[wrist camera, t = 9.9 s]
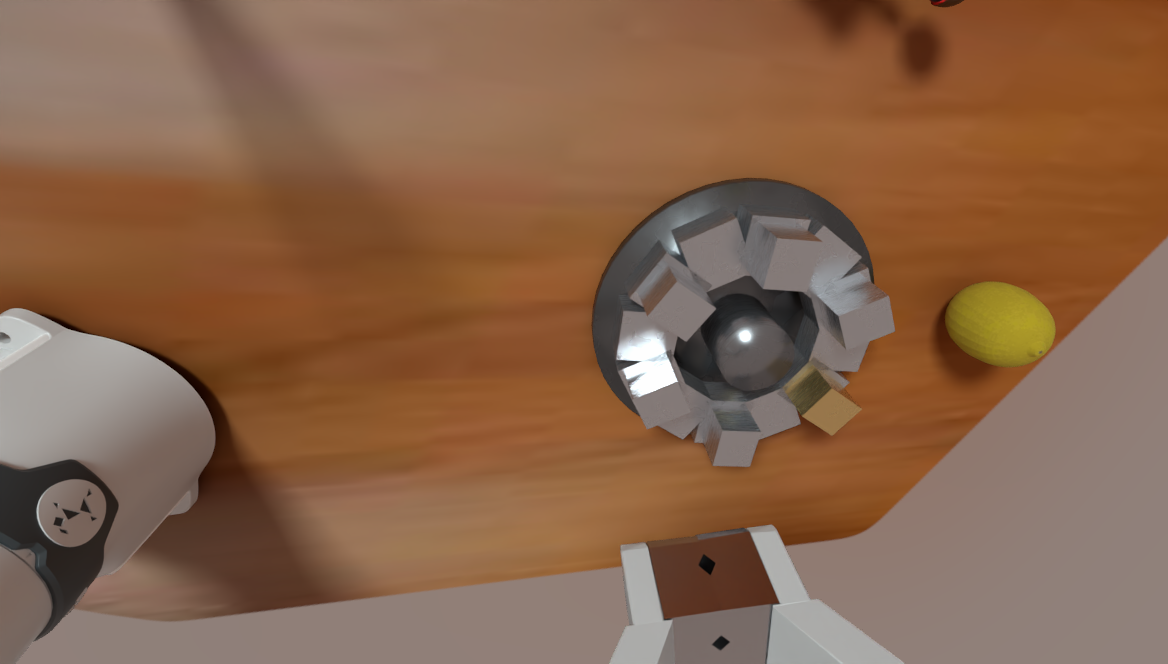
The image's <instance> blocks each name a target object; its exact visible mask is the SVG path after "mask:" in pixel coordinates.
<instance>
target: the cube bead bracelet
mask: <svg viewBox="0 0 1168 664" xmlns="http://www.w3.org/2000/svg"><path fill="white" fill-rule="evenodd" d="M671 232H672V235H673V237H674V240H675V243H676V245H677V248H678V251H679V253H680V254H678V253H677V252H676V251H674V250H673V249H671V248H670V247H669V246H667V245H666V244H664V243H663V242H662V241H660V240H658V241H657V242H656V244H655V245H654V246H653V247H652V249H651V250H650V251H649V252H648V254H647V255H646V256H645V257H644V259H643V260H642V261H641V262H640V264H639V265H638V266H637V267H636V268H635V270H634V271H633V272H632V273H631V275H630V276H629V277H628V278H627V280H626V281H625V282H624V284H625V287H626V290H627V292H628V295H629V296H627V295H619V296H618V302H617V309H616V315H615V322H614V329H613V335H612V346H613V350H614V353H613V354H614V358H615V362H616V366H617V370H618V373H619V375H620V377H621V379H622V381H623V383H624V385H625V387H626V389H627V391H628V393H629V395H630V397H631V399H632V401H633V403H634V405H635V407H636V409H637V410H638V412H639V414H640V416H641V418H642V420H643V422H644V424H645V426H646V428H647V429H649V428H652V427H654V426H657V425H658V426H660V427H661V428H663V429H665V430H667V431H668V432H670V433H672V434H674V435H676V436H677V437H679V438H681V439H684V438H685V437H686V436H687V435H688V434H689V433H691V435H692V438H693V440H694V443H704V446H705V448H706V451H707V453H708V456H709V458H710V460H711V463H712V465H713V466H741V467H750V464H751V461H752V458H753V455H754V452H755V449H756V446H757V443H758V440H760V439H763V438H765V437H768V436H771V435H773V434H776V433H779V432H781V431H784V430H786V429H789V428H792V427H794V426H797V425H799V424H801V423H800V419H799V416H798V413H797V410H798V411H799V413H800V414H801V416H802V417H804V418H805V419H807V420H808V421H810V422H812V423H813V424H815V425H816V426H818V427H819V428H821V429H822V430H824V431H825V432H827V433H829V434H830V435H834V434H835V433H836V432H837V431H838V430H839V429H840V428H841V427H842V426H844V425H845V424H846V423H847V422H848V421H849V420H850V419H851V418H853V417H854V416H855V415H856V414H857V413H858V412H859V411H860V410H862V408H861V407H860V406H859V405H858V404H857V403H856V401H855V400H854V399H853V398H852V397H851V396H850V394H849V393H848V392H847V391H846V390H845V389H844V387H845V386H846V385H847V384H848V383H850V382H849V381H848V380H847V379H846V378H845V377H844V375H843V374H842V373H841V372H840V371H853V372H857V371H858V369H859V366H860V364H861V361H862V359H863V356H864V354H865V351H866V349H867V346H868V344H869V341H872V340H874V339H877V338H879V337H882V336H885V335H887V334H890V333H892V332H895V328H894V322H893V317H892V311H891V306H890V300H889V296H888V295H887V294H886V293H884V292H883V291H882V290H881V289H879V288H878V287H877V286H875V285H874V284H873V283H871V280H870V274H869V269H868V267H866V266H865V265H864V264H862V263H861V262H859V260H860V259H861V258H862V257H861V256H860V255H859V254H858V253H856V252H855V251H854V250H853V249H852V248H850V247H849V246H848V245H847V244H846V243H845V242H843V241H842V240H841V239H840V238H839V237H837V236H836V235H835V234H834V233H833V232H831V231H830V230H829V229H828V228H827V227H825V226H824V225H823V224H821V223H820V222H818V221H817V220H816V219H814V218H813V217H811V216H810V215H808V214H806V215H805V216H804V215H803V214H801V213H800V212H799V211H797V210H796V209H794V208H782V207H771V206H759V205H748V204H739V208H738V212H737V217H735V216H734V215H733V214H732V213H731V212H730V211H729V210H728V209H727V208H726V207H722V208H720V209H718V210H716V211H713V212H711V213H709V214H707V215H704V216H702V217H700V218H698V219H695V220H693V221H691V222H689V223H686V224H684V225H682V226H680V227H677V228H675V229H673V230H671ZM743 276H752V277H753V278H754V279H755V280H756V282H757V283H758V284H759V285H760V286H761V287H762V288H763V289H770V290H785V291H798V292H799V296H800V300H801V303H802V307H803V311H804V316H803V319H802V322H801V325H800V328H799V331H798V334H797V337H796V341H795V344H794V348H795V355H794V360H793V363H792V365H791V367H790V369H789V370H788V372H787V373H786V374H785V375H784V376H783V377H782V378H781V379H780V380H779V381H777V382H776V383H774V384H773V385H771V386H769V387H766V388H763V389H759V390H741V389H738V388H735V387H733V386H732V385H730V384H729V383H724V382H703V381H702V380H700V379H698V378H697V377H695V376H694V375H692V374H690V373H689V372H687V371H686V370H684V369H682V368H681V367H679V366H678V365H677V363H676V360H675V358H674V356H673V355H674V351H675V346H676V341H677V337H680V338H681V339H683V340H684V341H686V342H687V341H688V339H689V338H690V337H691V336H692V335H693V334H694V333H695V332H696V331H697V329H698V328H699V327H700V326H701V325H702V324H703V323H704V322H705V321H706V319H707V318H708V317H709V316H710V315H711V314H712V313H713V312H714V311H715V309H716V307H715V306H714V304H713V303H712V301H711V299H710V298H709V296H708V295H707V292H708V291H710V290H713V289H715V288H718V287H720V286H722V285H725V284H727V283H729V282H732V281H734V280H736V279H739V278H741V277H743ZM796 408H797V410H796Z"/></svg>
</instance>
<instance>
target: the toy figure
mask: <svg viewBox="0 0 1168 664" xmlns="http://www.w3.org/2000/svg"><path fill="white" fill-rule="evenodd" d="M930 1H931V4H932V5H934V6H938V7H950V6H954V5H957V4H959V3H961V2H962V1H964V0H930Z"/></svg>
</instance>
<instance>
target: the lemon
mask: <svg viewBox="0 0 1168 664" xmlns="http://www.w3.org/2000/svg"><path fill="white" fill-rule="evenodd" d="M945 325H946V328H947V331H948V333H949V335H950V337H951V339H952V340H953V341H954V342H955V343H956V344H957V345H958V346H959V347H960V348H961V349H962V350H963V351H964V352H965V353H967V354H969V355H970V356H972V357H974V358H976V359H978V360H980V361H983V362H985V363H988V364H991V365H995V366H1001V367H1018V366H1023V365H1026V364H1029V363H1031V362H1034V361H1036V360H1037V359H1039V358H1040V357H1042V356H1043V355H1044V354H1045V353H1046V352H1047V351H1048V350H1049V348H1050V347H1051V345H1052V343H1053V341H1054V337H1055V323H1054V320H1053V318H1052V316H1051V314H1050V312H1049V310H1048V309H1047V308H1046V307H1045V306H1044V305H1043V304H1042V303H1041V302H1040V301H1039V300H1038V299H1037V298H1035V297H1034V296H1033V295H1032V294H1030V293H1029V292H1027V291H1025V290H1023V289H1021V288H1019V287H1016V286H1013V285H1010V284H1007V283H1002V282H982V283H976V284H973V285H971V286H968V287H966V288H964V289H963V290H961V291H960V292H958V293H957V294H956V295H955V296H954V297H953V298H952V300H951V301H950V303H949V305H948V307H947V309H946V313H945Z"/></svg>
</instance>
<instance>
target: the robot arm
mask: <svg viewBox="0 0 1168 664" xmlns="http://www.w3.org/2000/svg"><path fill="white" fill-rule="evenodd" d="M214 447H215V428H214V424H213V420H212V417H211V415H210V412H209V410H208V408H207V406H206V405H205V403H204V401H203V400H202V398H201V397H200V396H199V394H198V393H197V392H196V391H195V389H194V388H193V387H192V386H191V385H190V384H189V383H188V382H187V381H186V380H185V379H184V378H183V377H182V376H181V375H179V374H178V373H177V372H176V371H175V370H173V369H172V368H171V367H169V366H168V365H166V364H165V363H163V362H162V361H160V360H158V359H157V358H155V357H153V356H152V355H150V354H148V353H146V352H144V351H142V350H140V349H137V348H135V347H133V346H130V345H127V344H125V343H122V342H119V341H116V340H112V339H108V338H104V337H100V336H95V335H90V334H85V333H80V332H76V331H73V330H70V329H67V328H65V327H63V326H61V325H59V324H57V323H55V322H53V321H51V320H49V319H47V318H45V317H43V316H41V315H38V314H36V313H34V312H31V311H28V310H25V309H20V308H13V309H9V310H7V311H5V312H3V313H2V314H0V664H16V662H17V661H18V660H19V659H20V657H21V656H22V655H23V654H24V652H25V651H26V650H27V649H28V647H29V646H30V645H31V643H32V642H34V641H36V640H38V639H40V638H42V637H43V636H45V635H46V634H48V633H49V632H50V631H52V630H53V628H54V627H55V626H56V625H57V624H58V623H59V622H60V621H61V619H62V618H63V617H65V616H66V615H67V614H68V613H70V612H71V610H72V609H73V608H74V607H75V606H76V605H77V604H78V602H79V601H80V600H81V599H82V597H83V596H84V594H85V592H86V591H87V589H88V587H89V586H90V584H91V583H92V582H93V581H94V580H95V578H97V577H101V576H104V575H111V574H113V573H115V572H117V571H118V570H119V569H120V568H121V567H122V566H123V565H124V564H125V563H126V562H127V561H128V560H129V559H130V558H131V557H132V556H133V554H134V553H135V552H136V551H137V550H138V549H139V548H140V547H141V545H142V544H143V543H144V542H145V541H146V540H147V539H148V538H149V537H150V535H151V534H152V533H153V532H154V531H155V530H156V529H157V528H158V526H159V525H160V524H161V523H162V522H163V521H164V520H165V518H166V517H167V516H168V515H175V514H181V513H185V512H187V511H188V510H189V509H190V508H191V507H192V506H193V504H194V503H195V502H196V501H197V498H198V478H199V475H200V474H201V472H202V471H203V469H204V468H205V466H206V465H207V463H208V462H209V460H210V458H211V456H212V454H213V451H214ZM620 551H621V561H622V571H623V581H624V589H625V597H626V604H627V605H626V606H627V612H628V619H629V626H625V628H624V631H623V633H622V635H621V638H620V640H619V642H618V644H617V647H616V649H615V651H614V653H613V656H612V658H611V660H610V662H609V664H905V663H903V662H902V661H901V660H899V659H898V658H897V657H896V656H894V655H893V654H892V653H890V652H889V651H888V650H886V649H885V648H884V647H882V646H881V645H880V644H878V643H877V642H876V641H874V640H873V639H872V638H870V637H869V636H868V635H866V634H865V633H864V632H862V631H861V630H860V629H858V628H857V627H855V626H854V625H853V624H852V623H850V622H849V621H848V620H846V619H845V618H844V617H842V616H841V615H840V614H838V613H837V612H836V611H834V610H833V609H832V608H830V607H829V606H828V605H826V604H825V603H824V602H822V601H821V600H820V599H813V600H811V599H810V597H809V595H808V593H807V591H806V589H805V586H804V584H803V582H802V581H801V578H800V576H799V574H798V572H797V570H796V568H795V566H794V564H793V562H792V560H791V558H790V556H789V554H788V552H787V550H786V548H785V546H784V544H783V541H782V539H781V537H780V535H779V533H778V531H777V529H776V528H775V527H774V526H773V525H764V526H757V527H750V528H746V529H745V528H739V529H733V530H726V531H720V532H713V533H707V534H700V535H695V536H693V537H684V538H675V539H666V540H657V541H648V542H640V543H633V544H625V545H621V546H620Z"/></svg>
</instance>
